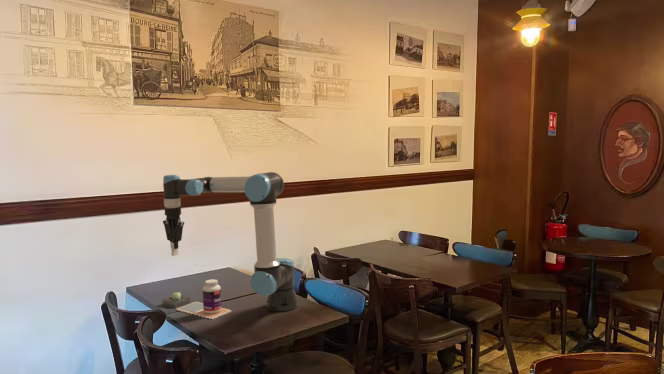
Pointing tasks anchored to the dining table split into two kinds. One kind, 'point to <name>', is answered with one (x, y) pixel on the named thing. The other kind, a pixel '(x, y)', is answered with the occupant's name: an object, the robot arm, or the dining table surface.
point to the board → (201, 310)
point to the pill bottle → (211, 297)
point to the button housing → (176, 301)
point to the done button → (176, 295)
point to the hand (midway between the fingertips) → (174, 255)
